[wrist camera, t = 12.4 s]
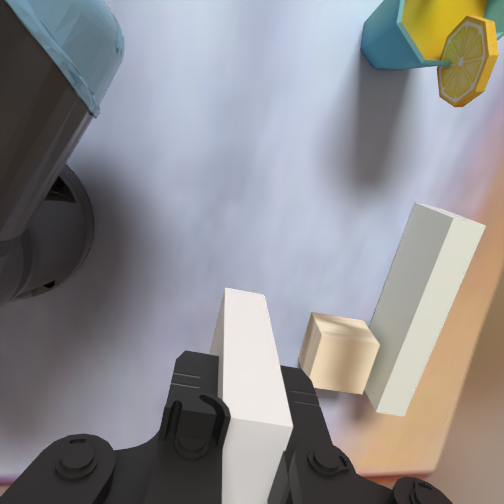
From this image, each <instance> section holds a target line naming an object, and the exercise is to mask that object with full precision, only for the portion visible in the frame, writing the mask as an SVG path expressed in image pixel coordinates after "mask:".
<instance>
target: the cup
mask: <svg viewBox="0 0 504 504" xmlns="http://www.w3.org/2000/svg"><path fill="white" fill-rule="evenodd" d="M503 35H504V0H384V1H383V2H382V3H381V4H380V5H379V7H378V8H377V9H376V10H375V11H374V12H373V13H372V15H371V16H370V17H369V18H368V19H367V20H366V21H365V23H364V28H363V35H362V42H361V50H362V52H363V53H364V55H365V56H366V58H367V59H368V61H369V62H370V64H371V65H372V67H373V68H376V69H387V70H403V69H412V68H421V67H431V66H438V67H437V75H438V85H439V95H440V97H441V98H442V99H444V100H445V101H446V102H448V103H449V104H451V105H452V106H454V107H463V106H465V105H466V104H467V103H469V102H470V101H472V100H473V99H474V98H476V97H477V96H479V95H480V94H481V93H483V92H484V90H485V88H486V85H487V83H488V80H489V78H490V75H491V73H492V70H493V68H494V65H495V63H496V60H497V58H498V46H497V40H499V39H500V38H501V37H502V36H503Z"/></svg>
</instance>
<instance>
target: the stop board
mask: <svg viewBox="0 0 504 504" xmlns="http://www.w3.org/2000/svg"><path fill="white" fill-rule="evenodd" d="M484 229H485V225H482V224H480V223H477V222H475V221H472V220H470V219H467V218H464V217H462V216H459V215H457V214H454V213H451V212H449V211H446V210H444V209H441V208H436V207H432V206H428V205H424V204H419V203H414V206H413V209H412V211H411V214H410V217H409V220H408V222H407V225H406V228H405V231H404V233H403V236H402V239H401V241H400V244H399V247H398V250H397V252H396V255H395V258H394V261H393V263H392V266H391V269H390V271H389V274H388V277H387V280H386V282H385V285H384V288H383V291H382V293H381V296H380V299H379V302H378V304H377V307H376V310H375V312H374V315H373V318H372V321H371V323H370V326H369V329H370V331H371V332H372V334H373V335H374V337H375V338H376V340H377V341H378V342H379V344H380V346H379V349H378V352H377V354H376V357H375V360H374V363H373V366H372V369H371V371H370V374H369V377H368V380H367V383H366V386H365V388H364V390H365V392H366V394H367V396H368V398H369V400H370V402H371V404H372V406H373V408H374V410H375V411H376V412H379V413H385V414H391V415H398V416H404V415H405V413H406V410H407V408H408V406H409V403H410V401H411V399H412V396H413V394H414V392H415V389H416V387H417V385H418V382H419V380H420V378H421V375H422V373H423V371H424V368H425V366H426V364H427V361H428V359H429V357H430V354H431V352H432V350H433V347H434V345H435V343H436V340H437V338H438V336H439V334H440V331H441V329H442V327H443V324H444V322H445V320H446V317H447V315H448V313H449V310H450V308H451V306H452V303H453V301H454V299H455V296H456V294H457V292H458V289H459V287H460V285H461V282H462V280H463V278H464V275H465V273H466V271H467V268H468V266H469V264H470V261H471V259H472V257H473V254H474V252H475V250H476V247H477V245H478V243H479V240H480V238H481V236H482V233H483V231H484Z"/></svg>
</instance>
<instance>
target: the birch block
mask: <svg viewBox="0 0 504 504" xmlns="http://www.w3.org/2000/svg"><path fill="white" fill-rule="evenodd" d="M379 346H380V344H379V342H378V341H377V340H376V338H375V337H374V335H373V334H372V332H371V331H370V329H369V328H368V327H367V325H366V324H365V322H364V321H362V320H356V319H350V318H344V317H338V316H332V315H326V314H320V313H314V312H311V316H310V319H309V323H308V326H307V330H306V334H305V337H304V341H303V344H302V348H301V351H300V355H299V358H298V360H299V363H300V366H301V369H302V370H303V371H304V372H305V374H306V375H307V376H308V377H309V378H310V379H311V381H312V383H313V386H314V388H319V389H326V390H334V391H341V392H348V393H355V394H363V391H364V388H365V386H366V383H367V380H368V377H369V374H370V371H371V369H372V366H373V363H374V360H375V357H376V354H377V352H378V349H379Z"/></svg>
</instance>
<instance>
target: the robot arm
mask: <svg viewBox="0 0 504 504" xmlns="http://www.w3.org/2000/svg"><path fill="white" fill-rule="evenodd" d="M123 55H124V39H123V34H122V31H121V28H120V25H119V23H118V21H117V19H116V17H115V16H114V14H113V12H112V11H111V9H110V8H109V7H108V5H107V4H106V2H105V1H104V0H0V308H1V307H2V306H4V305H5V304H6V303H7V302H12V301H16V300H20V299H25V298H29V297H33V296H37V295H40V294H43V293H45V292H48V291H50V290H52V289H53V288H55V287H57V286H58V285H60V284H61V283H63V282H64V281H65V280H66V279H67V278H68V277H69V276H71V275H72V274H73V273H74V272H75V271H76V270H77V269H78V268H79V266H80V265H81V264H82V263H83V261H84V260H85V258H86V256H87V254H88V252H89V250H90V247H91V244H92V240H93V233H94V218H93V211H92V207H91V204H90V200H89V198H88V195H87V193H86V191H85V189H84V187H83V185H82V184H81V182H80V180H79V179H78V177H77V176H76V175H75V173H74V172H73V171H72V170H71V169H70V168H69V167H68V166H67V165H66V162H67V160H68V159H69V157H70V155H71V154H72V152H73V150H74V149H75V147H76V145H77V144H78V142H79V140H80V139H81V137H82V135H83V134H84V132H85V130H86V129H87V127H88V125H89V124H90V122H91V120H92V119H93V117H94V118H97V117H98V115H99V114H100V107H99V104H100V103H101V101H102V99H103V97H104V95H105V93H106V91H107V89H108V87H109V85H110V83H111V81H112V79H113V77H114V75H115V74H116V72H117V70H118V68H119V66H120V64H121V62H122V59H123ZM0 504H452V502H451V501H450V500H449V499H448V498H447V497H446V496H445V495H444V494H443V493H442V492H441V491H440V490H438V489H437V488H435V487H434V486H432V485H431V484H429V483H428V482H425V481H423V480H420V479H418V478H413V477H403V478H401V479H398V480H397V482H396V483H395V485H394V487H393V489H392V490H391V489H389V488H387V487H384V486H382V485H379V484H377V483H375V482H372V481H370V480H367V479H365V478H364V477H362V476H360V475H358V474H356V472H355V469H354V467H353V465H352V463H351V461H350V460H349V458H348V457H347V456H346V455H345V454H344V453H343V452H342V451H341V450H340V449H339V448H337V447H336V446H334V445H333V444H332V441H331V438H330V435H329V432H328V429H327V426H326V423H325V420H324V417H323V414H322V411H321V407H319V401H318V398H317V396H316V392H315V389H314V386H313V383H312V381H311V379H310V378H309V377H308V376H307V375H306V374H305V372H304V371H303V370H302V369H298V368H293V367H287V366H281V365H280V364H279V359H278V355H277V350H276V345H275V341H274V336H273V332H272V327H271V322H270V318H269V313H268V308H267V304H266V299H265V295H262V294H256V293H251V292H246V291H241V290H236V289H231V288H226V287H225V289H224V294H223V298H222V302H221V306H220V311H219V315H218V319H217V324H216V328H215V332H214V337H213V341H212V345H211V349H210V355H209V354H203V353H197V352H191V351H185V352H183V353H182V354H181V355H180V356H179V357H178V358H177V359H176V362H175V367H174V371H173V376H172V380H171V385H170V389H169V394H168V398H167V403H166V405H165V407H164V412H163V417H162V422H161V427H160V430H159V431H158V432H157V434H156V435H155V436H154V437H153V438H152V439H150V440H149V441H148V442H146V443H144V444H142V445H139V446H137V447H132V448H128V449H122V450H113V448H112V447H111V446H110V444H109V443H108V442H107V441H105V440H104V439H102V438H100V437H98V436H95V435H89V434H77V435H69V436H67V437H64V438H62V439H59V440H57V441H55V442H53V443H52V444H51V445H49V446H48V447H47V448H46V449H44V450H43V451H42V452H41V453H40V454H39V456H38V457H37V458H36V459H35V460H34V461H33V462H32V463H31V464H30V465H29V466H28V468H27V469H26V470H25V471H24V472H23V473H22V474H21V475H20V476H19V477H18V478H17V479H16V481H15V482H14V483H13V484H12V485H11V486H10V487H9V488H8V489H7V490H6V492H5V493H4V494H3V495H2V496H1V497H0Z"/></svg>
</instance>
